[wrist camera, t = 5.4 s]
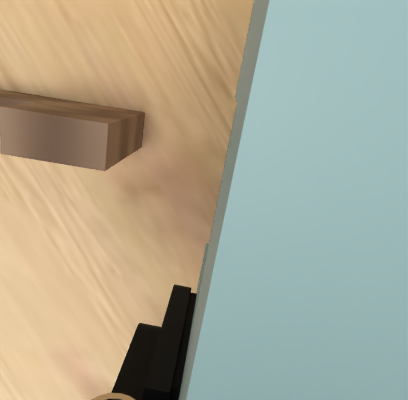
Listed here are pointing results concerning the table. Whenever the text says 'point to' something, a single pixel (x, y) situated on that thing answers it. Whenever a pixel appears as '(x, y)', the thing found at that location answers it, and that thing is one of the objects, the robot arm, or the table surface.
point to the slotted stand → (67, 131)
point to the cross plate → (310, 213)
